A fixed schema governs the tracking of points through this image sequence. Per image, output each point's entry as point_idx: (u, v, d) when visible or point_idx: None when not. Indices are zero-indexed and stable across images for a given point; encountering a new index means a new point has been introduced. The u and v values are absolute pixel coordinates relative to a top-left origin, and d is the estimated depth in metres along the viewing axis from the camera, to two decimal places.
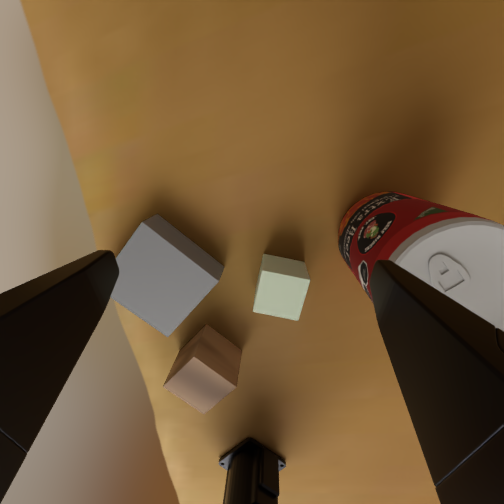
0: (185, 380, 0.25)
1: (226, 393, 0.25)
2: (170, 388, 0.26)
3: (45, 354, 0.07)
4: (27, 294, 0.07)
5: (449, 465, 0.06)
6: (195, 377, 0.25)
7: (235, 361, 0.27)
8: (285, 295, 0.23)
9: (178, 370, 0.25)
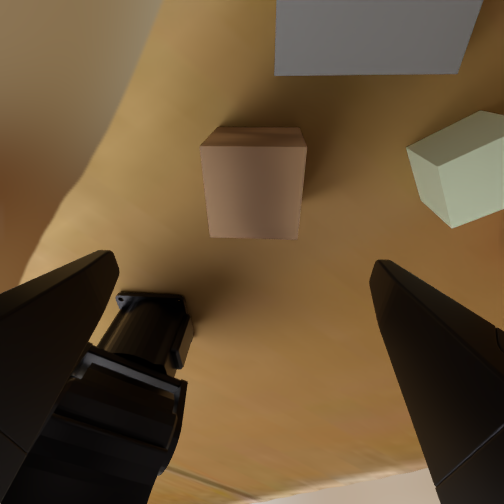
0: (245, 170, 0.13)
1: (275, 237, 0.15)
2: (209, 160, 0.13)
3: (45, 354, 0.07)
4: (27, 294, 0.07)
5: (449, 465, 0.06)
6: (266, 178, 0.13)
7: None
8: (493, 185, 0.14)
9: (251, 145, 0.13)
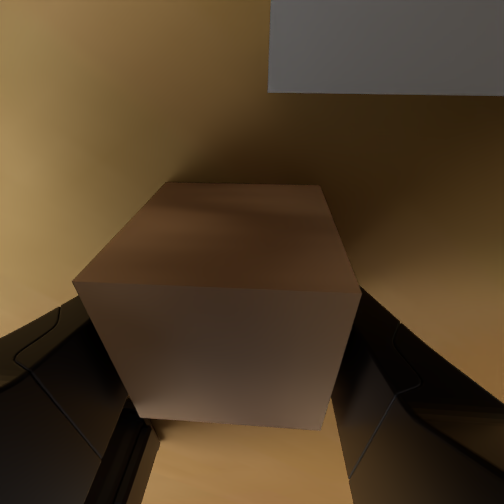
0: (200, 329, 0.05)
1: (274, 424, 0.07)
2: (105, 308, 0.05)
3: None
4: None
5: (355, 458, 0.06)
6: (253, 344, 0.05)
7: None
8: None
9: (210, 277, 0.05)
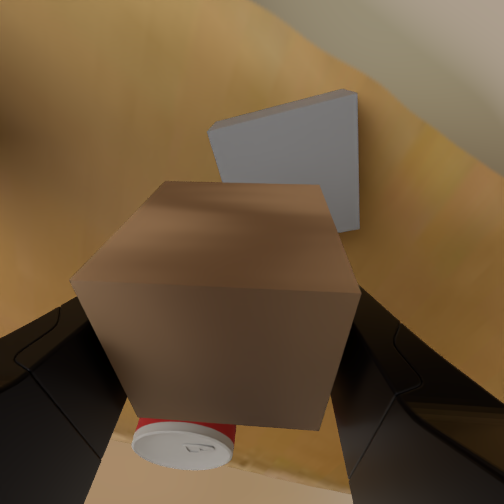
0: (198, 328, 0.05)
1: (272, 424, 0.07)
2: (102, 307, 0.05)
3: None
4: None
5: (355, 458, 0.06)
6: (251, 344, 0.05)
7: None
8: None
9: (209, 276, 0.05)
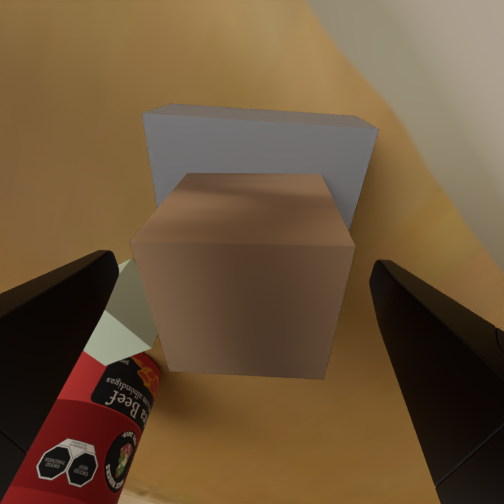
0: (227, 282, 0.07)
1: (284, 374, 0.09)
2: (152, 265, 0.06)
3: (45, 354, 0.07)
4: (27, 294, 0.07)
5: (449, 465, 0.06)
6: (270, 295, 0.07)
7: None
8: (99, 341, 0.15)
9: (237, 237, 0.06)
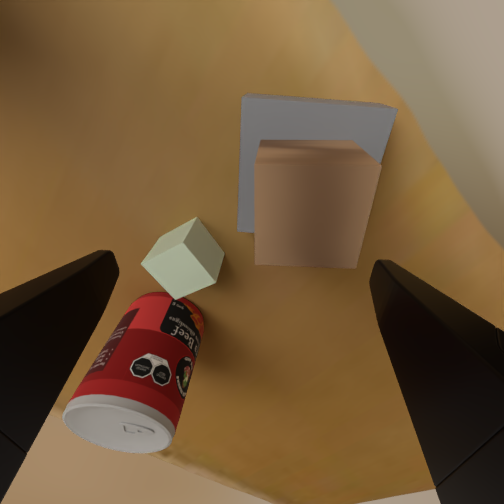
0: (305, 191, 0.11)
1: (330, 265, 0.13)
2: (263, 180, 0.11)
3: (45, 354, 0.07)
4: (27, 294, 0.07)
5: (449, 466, 0.06)
6: (329, 201, 0.11)
7: None
8: (176, 276, 0.20)
9: (314, 163, 0.11)
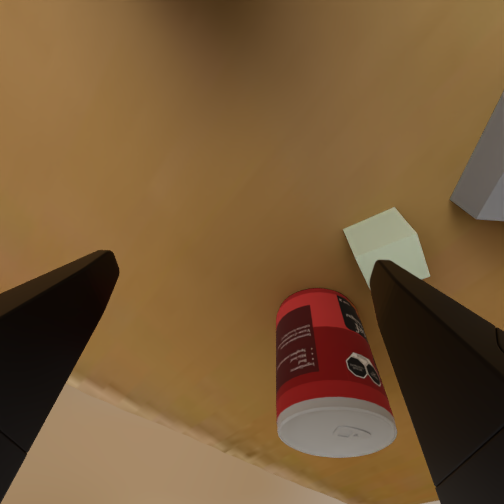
0: None
1: None
2: None
3: (45, 354, 0.07)
4: (27, 294, 0.07)
5: (449, 465, 0.06)
6: None
7: None
8: None
9: None
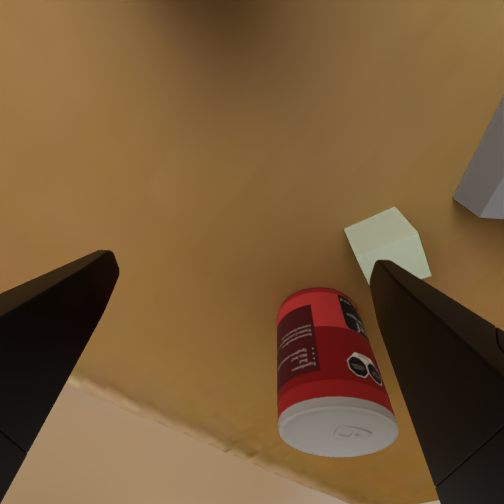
0: None
1: None
2: None
3: (45, 354, 0.07)
4: (27, 294, 0.07)
5: (449, 465, 0.06)
6: None
7: None
8: None
9: None
